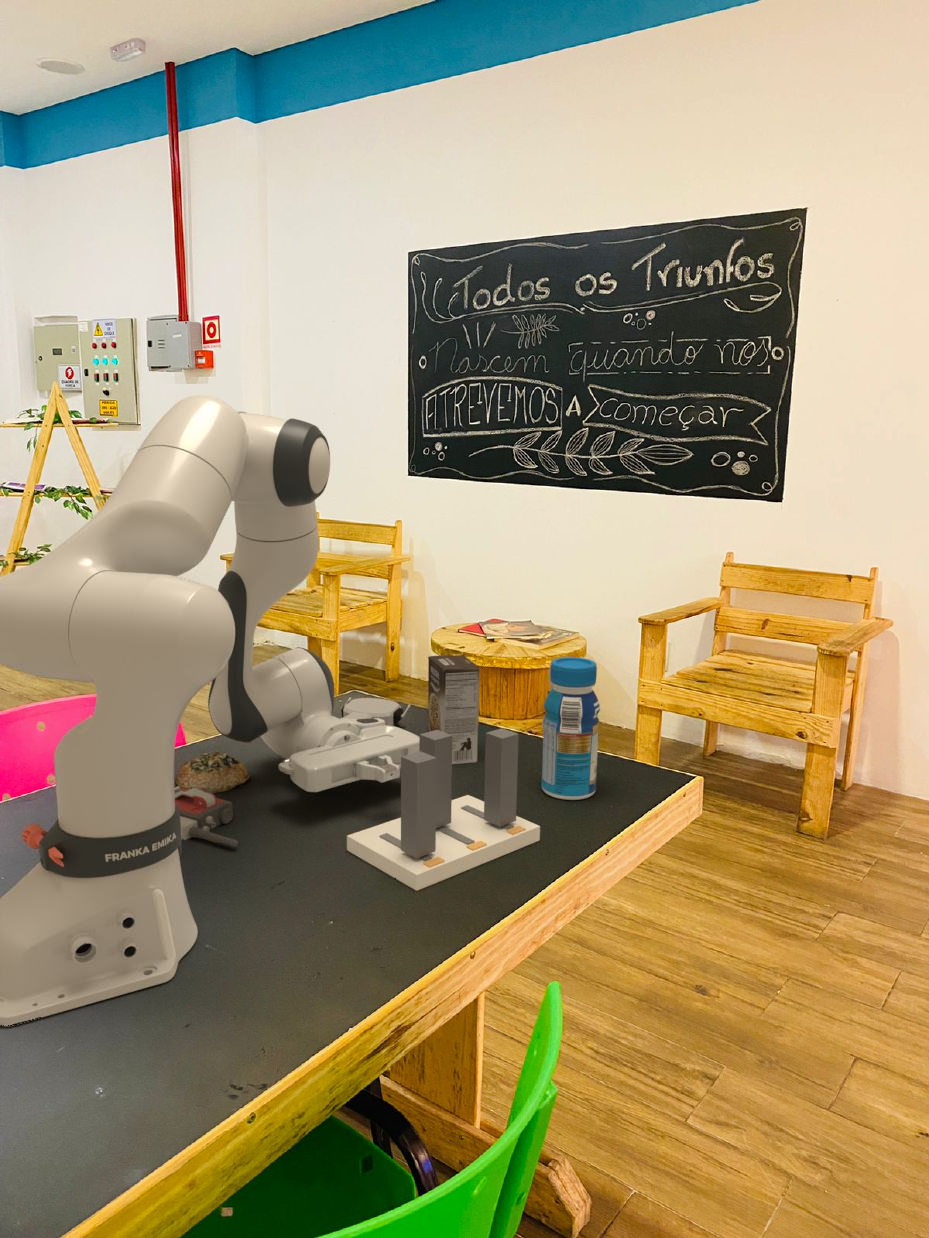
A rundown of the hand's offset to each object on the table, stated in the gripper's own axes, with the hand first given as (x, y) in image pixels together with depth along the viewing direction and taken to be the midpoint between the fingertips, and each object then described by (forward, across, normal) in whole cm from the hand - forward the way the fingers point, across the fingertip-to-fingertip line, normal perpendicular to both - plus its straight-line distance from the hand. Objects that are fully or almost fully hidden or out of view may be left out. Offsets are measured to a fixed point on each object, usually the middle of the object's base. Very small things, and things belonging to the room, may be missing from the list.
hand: (391, 774), depth 126 cm
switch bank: (+11, 0, +6) cm, 13 cm away
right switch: (+14, +7, +4) cm, 16 cm away
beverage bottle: (+9, +27, +7) cm, 29 cm away
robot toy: (-33, +20, +7) cm, 39 cm away
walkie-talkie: (-15, -21, +7) cm, 27 cm away
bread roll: (-29, -12, +7) cm, 32 cm away
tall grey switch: (+14, -7, +4) cm, 16 cm away
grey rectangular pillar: (+9, 0, +4) cm, 10 cm away
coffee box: (-14, +24, +7) cm, 28 cm away
